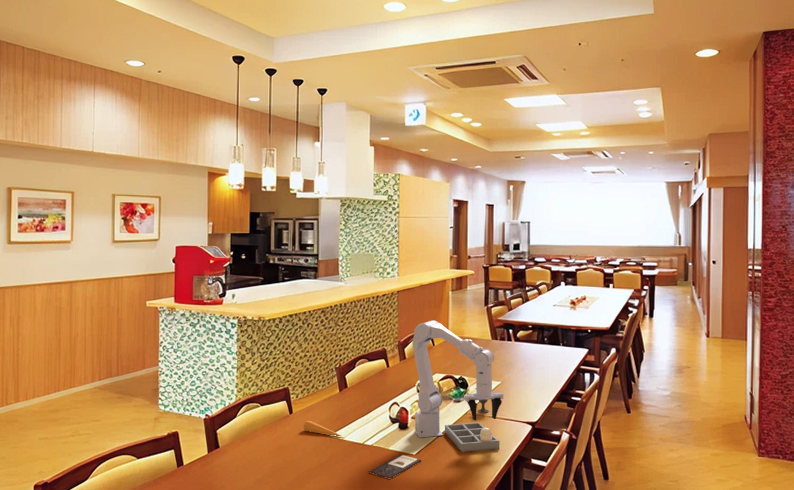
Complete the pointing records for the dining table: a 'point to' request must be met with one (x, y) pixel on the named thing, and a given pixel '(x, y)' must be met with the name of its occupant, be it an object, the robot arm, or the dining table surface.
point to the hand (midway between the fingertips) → (484, 419)
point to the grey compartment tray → (470, 437)
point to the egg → (485, 434)
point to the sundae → (483, 406)
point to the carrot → (318, 428)
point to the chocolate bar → (395, 466)
